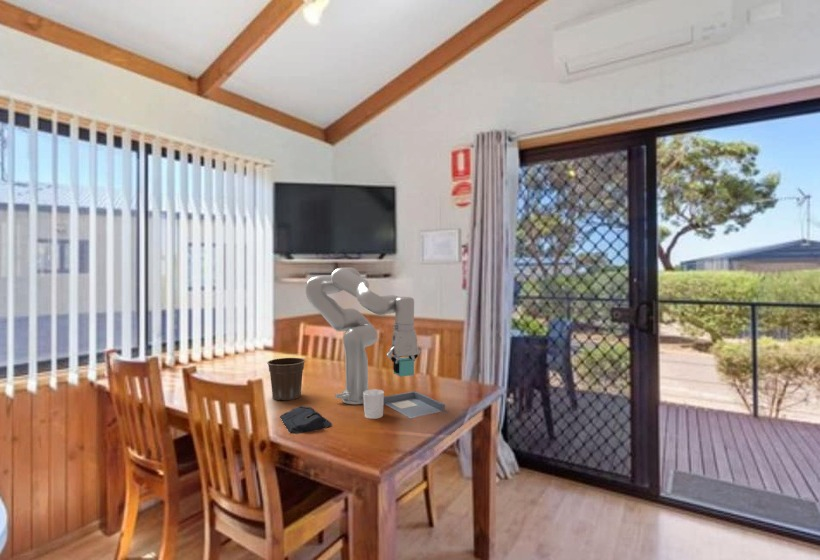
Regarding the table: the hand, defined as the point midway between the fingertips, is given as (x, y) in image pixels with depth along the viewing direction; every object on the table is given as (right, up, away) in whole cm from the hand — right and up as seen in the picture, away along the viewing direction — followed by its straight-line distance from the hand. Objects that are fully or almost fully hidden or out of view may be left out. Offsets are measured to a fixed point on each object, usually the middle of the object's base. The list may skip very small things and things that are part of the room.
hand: (403, 371), depth 181 cm
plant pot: (-52, -15, +17) cm, 57 cm away
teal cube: (0, -1, 0) cm, 1 cm away
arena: (+4, -15, -1) cm, 16 cm away
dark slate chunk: (-37, -17, -15) cm, 43 cm away
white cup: (-11, -16, -12) cm, 23 cm away
